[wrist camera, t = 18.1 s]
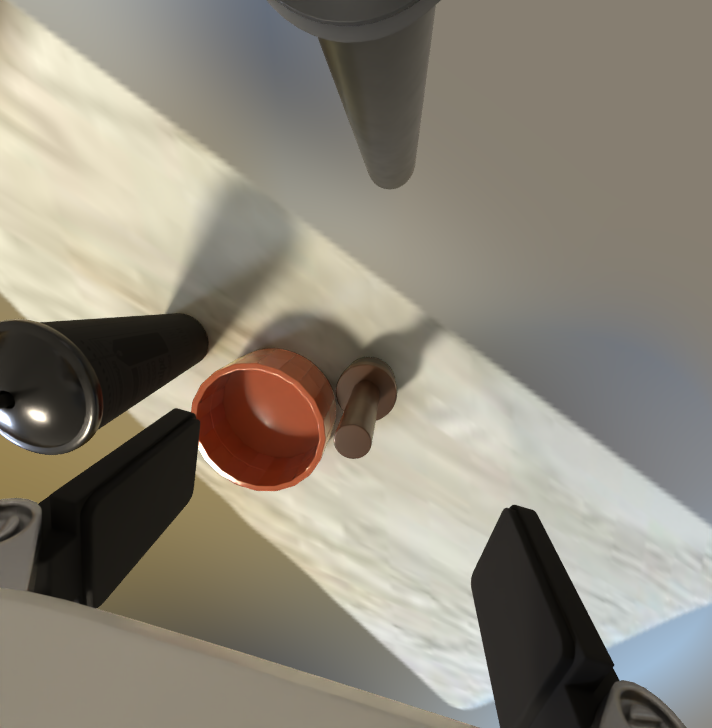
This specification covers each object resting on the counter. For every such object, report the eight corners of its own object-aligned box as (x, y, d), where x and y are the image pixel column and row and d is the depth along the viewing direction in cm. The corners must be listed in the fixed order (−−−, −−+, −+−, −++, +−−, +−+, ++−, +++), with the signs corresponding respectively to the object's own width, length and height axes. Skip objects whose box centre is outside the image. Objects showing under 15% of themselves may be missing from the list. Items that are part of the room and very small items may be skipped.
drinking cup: (151, 283, 31) (-264, 314, 12) (232, 316, 30) (-54, 401, 11) (137, 361, 33) (-230, 495, 14) (212, 391, 33) (-54, 569, 14)
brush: (349, 347, 30) (321, 392, 19) (403, 362, 30) (404, 416, 19) (337, 398, 31) (304, 465, 21) (388, 412, 31) (381, 488, 21)
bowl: (229, 334, 31) (198, 346, 26) (349, 366, 30) (339, 386, 26) (214, 440, 34) (184, 469, 29) (322, 472, 34) (309, 506, 29)
